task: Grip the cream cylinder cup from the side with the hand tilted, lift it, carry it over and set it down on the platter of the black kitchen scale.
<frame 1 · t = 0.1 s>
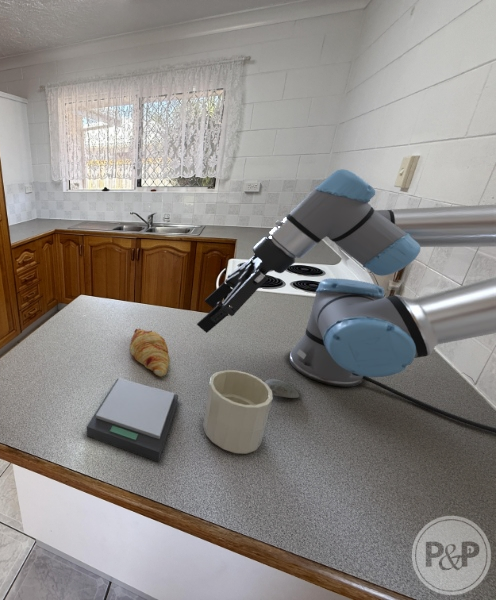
hand: (205, 315, 73), 15 cm above the counter, tool tilted 35°, fingers open, 13 cm apart
cream cylinder cup: (230, 433, 60), on the counter
scale: (134, 419, 64), on the counter
croissant: (147, 357, 84), on the counter
soupspoon: (253, 400, 68), on the counter
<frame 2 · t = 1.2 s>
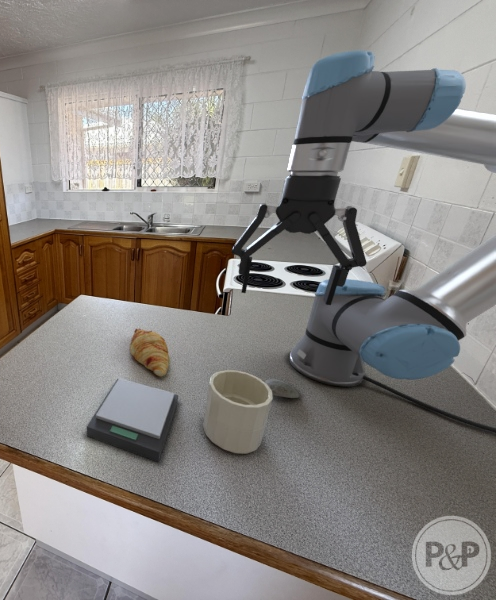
hand: (283, 296, 58), 25 cm above the counter, tool pointing down, fingers open, 13 cm apart
nothing on the counter moved.
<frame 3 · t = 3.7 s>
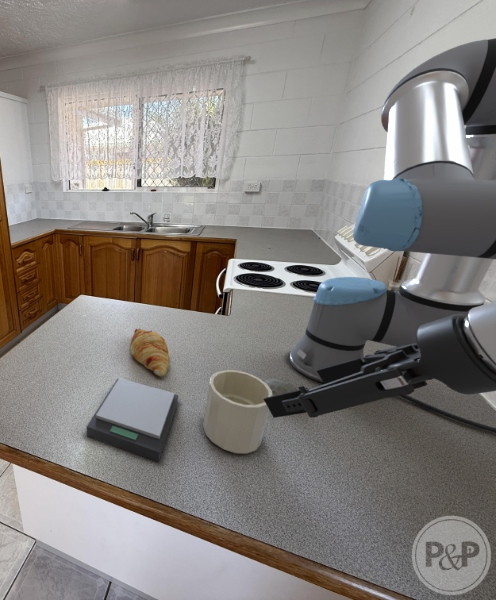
hand: (297, 391, 47), 16 cm above the counter, tool tilted 45°, fingers open, 13 cm apart
nothing on the counter moved.
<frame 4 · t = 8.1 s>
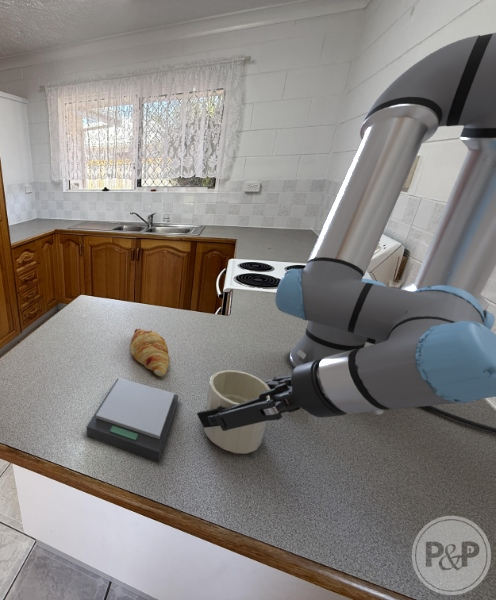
hand: (220, 407, 60), 4 cm above the counter, tool tilted 45°, fingers closed on cream cylinder cup, 10 cm apart
cream cylinder cup: (230, 433, 60), on the counter, touching gripper
everything else where it was.
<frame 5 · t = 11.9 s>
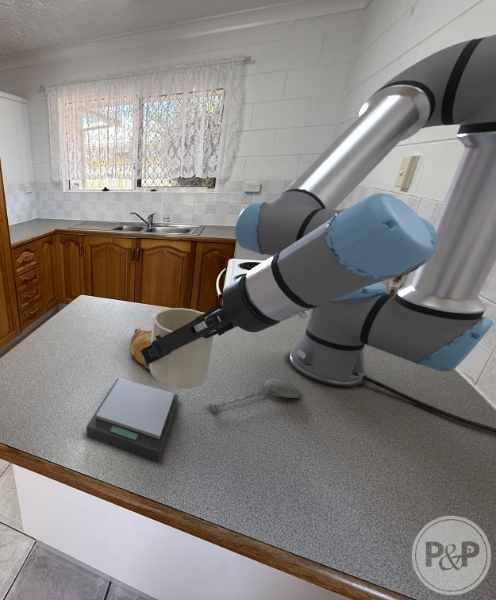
hand: (167, 347, 58), 16 cm above the counter, tool tilted 45°, fingers closed on cream cylinder cup, 10 cm apart
cream cylinder cup: (177, 373, 58), point 12 cm above the counter, touching gripper
everything else where it was.
when the fingers open (7 cm above the counter, at t = 15.8 s): cream cylinder cup stays where it is, resting on scale.
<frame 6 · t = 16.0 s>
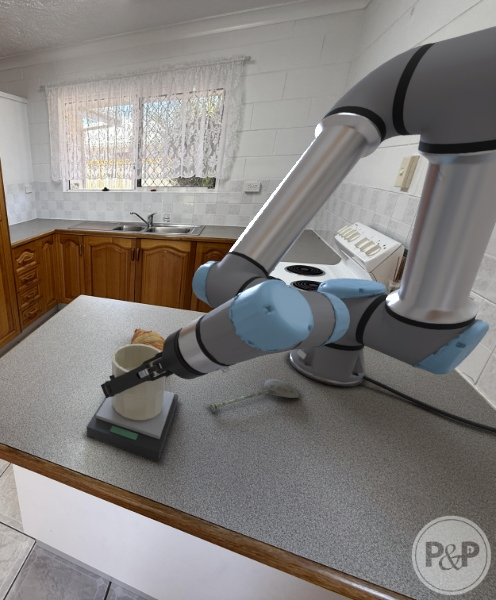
hand: (129, 380, 64), 7 cm above the counter, tool tilted 45°, fingers open, 11 cm apart
cream cylinder cup: (136, 403, 63), point 3 cm above the counter, touching scale
everything else where it was.
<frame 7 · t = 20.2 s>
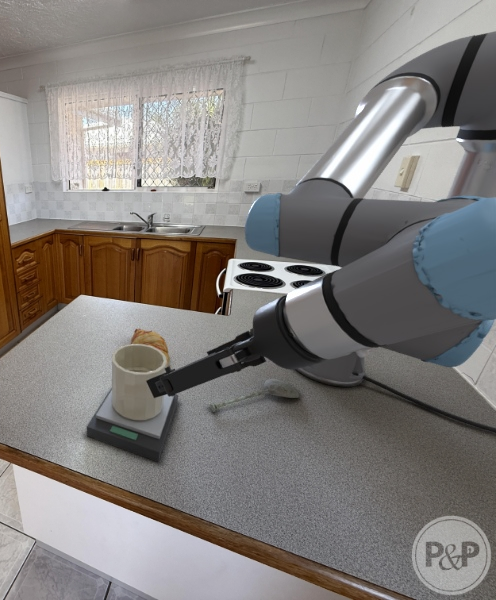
hand: (183, 372, 49), 17 cm above the counter, tool tilted 45°, fingers open, 13 cm apart
nothing on the counter moved.
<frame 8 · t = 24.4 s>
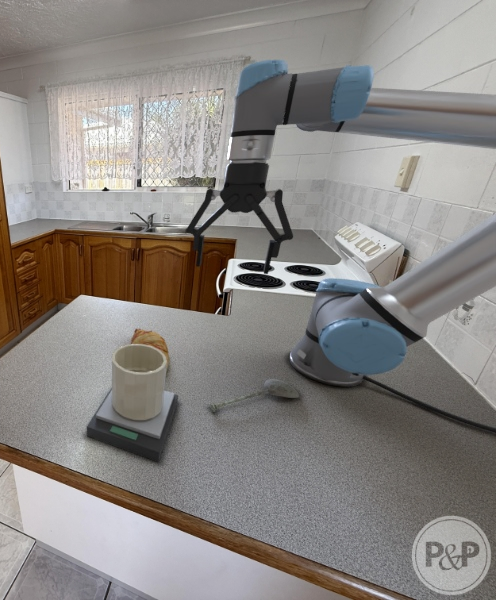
hand: (230, 268, 68), 27 cm above the counter, tool pointing down, fingers open, 13 cm apart
nothing on the counter moved.
at the end: cream cylinder cup inside the target area on the scale (0.0 cm from its centre), point 3.2 cm above the scale's base; cream cylinder cup tilted 0°; the gripper is holding nothing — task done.
